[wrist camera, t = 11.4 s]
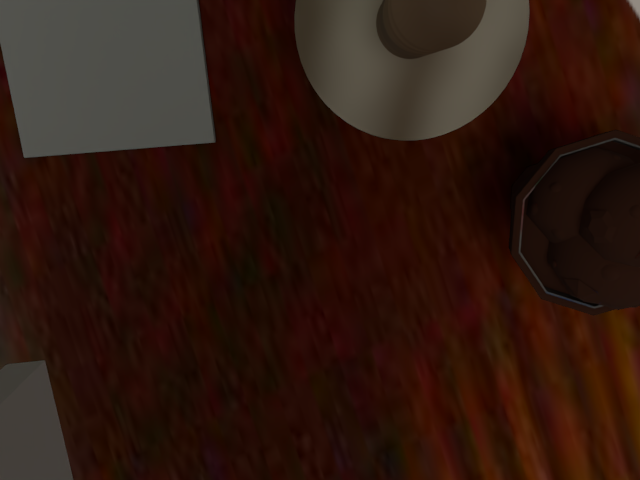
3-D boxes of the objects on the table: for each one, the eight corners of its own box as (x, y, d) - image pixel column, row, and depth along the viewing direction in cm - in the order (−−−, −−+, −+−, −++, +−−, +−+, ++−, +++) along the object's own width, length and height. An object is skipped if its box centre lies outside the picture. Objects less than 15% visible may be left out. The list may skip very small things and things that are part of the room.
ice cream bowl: (455, 152, 43) (519, 185, 28) (607, 103, 42) (755, 112, 27) (491, 283, 46) (566, 376, 31) (635, 240, 44) (784, 315, 30)
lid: (305, 146, 33) (295, 168, 24) (286, -90, 30) (268, -164, 21) (520, 130, 33) (591, 146, 24) (523, -111, 30) (605, -195, 21)
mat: (28, 156, 44) (24, 157, 43) (-15, -50, 40) (-20, -52, 40) (216, 141, 43) (214, 142, 43) (189, -69, 40) (187, -71, 39)
